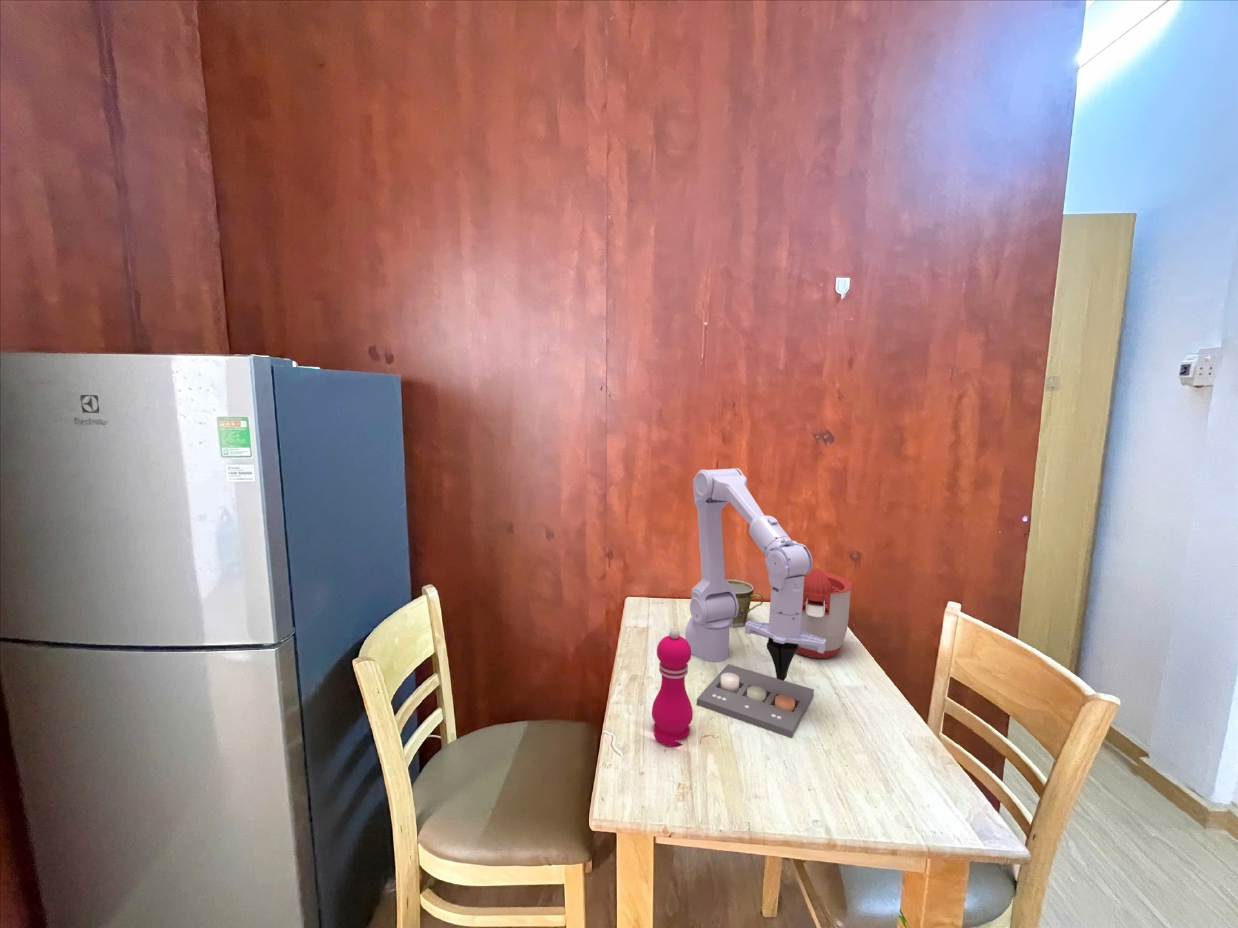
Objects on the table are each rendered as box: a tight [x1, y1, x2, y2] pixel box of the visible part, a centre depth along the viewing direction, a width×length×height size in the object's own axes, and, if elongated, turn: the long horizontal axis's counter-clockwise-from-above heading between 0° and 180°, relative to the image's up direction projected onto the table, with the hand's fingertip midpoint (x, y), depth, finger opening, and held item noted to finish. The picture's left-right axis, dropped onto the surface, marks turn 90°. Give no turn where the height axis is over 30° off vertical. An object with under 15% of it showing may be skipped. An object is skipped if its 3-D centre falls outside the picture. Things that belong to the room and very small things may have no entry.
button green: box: [746, 686, 767, 703], centre depth 106 cm, size 4×4×3 cm
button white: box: [720, 673, 740, 694], centre depth 108 cm, size 4×4×3 cm
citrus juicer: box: [795, 567, 853, 659], centre depth 128 cm, size 16×17×20 cm
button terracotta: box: [774, 695, 796, 712], centre depth 103 cm, size 4×4×3 cm
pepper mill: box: [651, 628, 694, 748], centre depth 95 cm, size 7×7×20 cm
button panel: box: [696, 663, 815, 739], centre depth 106 cm, size 18×16×3 cm
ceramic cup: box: [725, 579, 764, 628], centre depth 143 cm, size 13×10×10 cm
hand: (781, 677), depth 102 cm, fingers closed
